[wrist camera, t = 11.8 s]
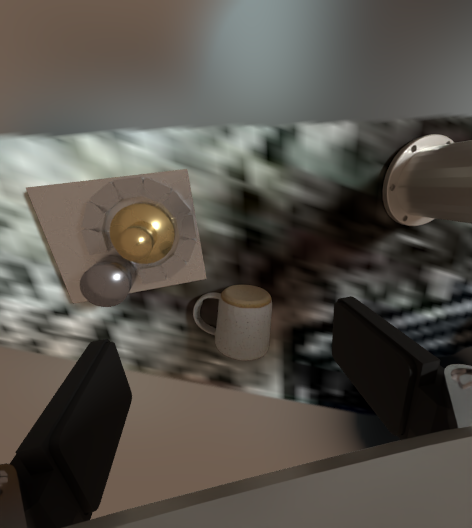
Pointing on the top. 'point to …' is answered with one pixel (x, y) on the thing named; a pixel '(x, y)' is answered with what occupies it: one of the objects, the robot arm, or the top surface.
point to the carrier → (98, 234)
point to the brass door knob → (142, 233)
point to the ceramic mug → (240, 321)
